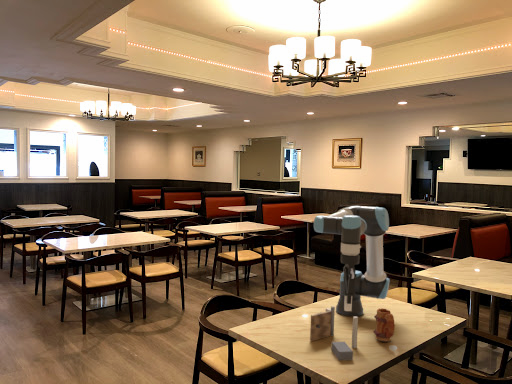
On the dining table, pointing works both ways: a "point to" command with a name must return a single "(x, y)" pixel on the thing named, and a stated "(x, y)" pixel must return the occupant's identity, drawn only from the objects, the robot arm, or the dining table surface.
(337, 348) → the block
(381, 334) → the mug
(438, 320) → the dining table surface
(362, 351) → the dining table surface
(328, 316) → the door
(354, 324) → the doorframe
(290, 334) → the dining table surface
